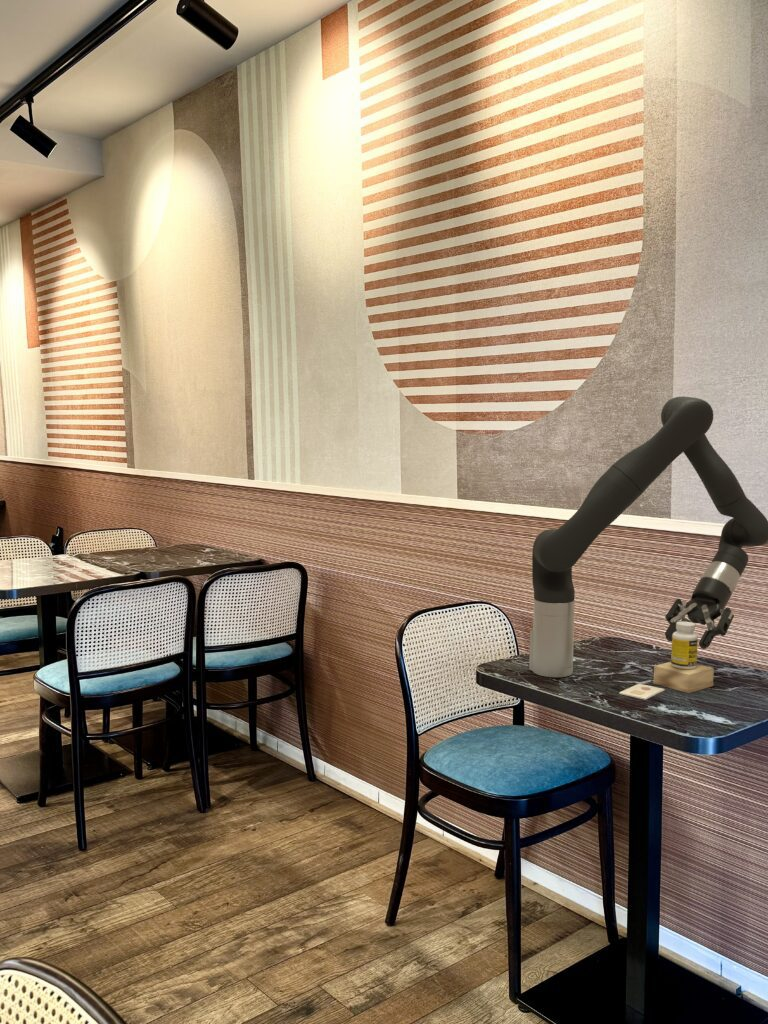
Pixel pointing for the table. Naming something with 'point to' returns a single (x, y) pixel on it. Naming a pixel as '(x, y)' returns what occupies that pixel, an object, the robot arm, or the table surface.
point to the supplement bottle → (684, 646)
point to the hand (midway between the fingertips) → (684, 643)
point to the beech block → (683, 677)
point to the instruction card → (641, 691)
